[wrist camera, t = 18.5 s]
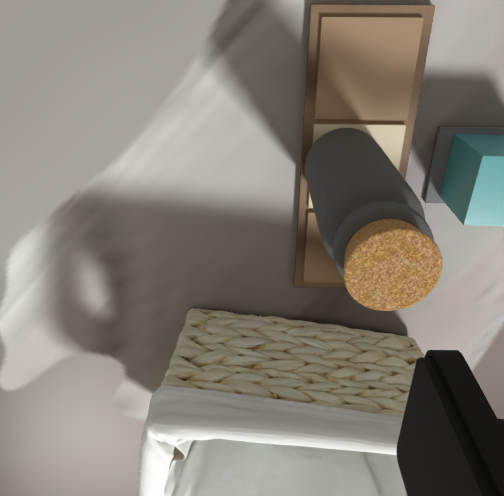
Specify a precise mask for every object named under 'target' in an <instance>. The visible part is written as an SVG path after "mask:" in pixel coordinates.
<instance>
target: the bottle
mask: <svg viewBox="0 0 504 496" xmlns="http://www.w3.org/2000/svg"><path fill="white" fill-rule="evenodd" d="M305 175H306V181H307V185H308V189H309V193H310V197H311V201H312V205H313V209H314V213H315V217H316V221H317V225H318V228H319V232H320V235H321V239H322V242H323V245H324V247H325V249H326V251H327V252H328V254H329V255H330V256H331V258H332V259H333V260H334V262H335V265H336V268H337V270H338V272H339V274H340V275H341V277H342V278H343V279H344V283H345V286H346V288H347V290H348V292H349V294H350V295H351V296H352V297H353V298H354V299H355V300H356V301H357V302H358V303H360V304H362V305H363V306H365V307H368V308H371V309H374V310H380V311H392V310H398V309H403V308H406V307H409V306H411V305H413V304H415V303H417V302H419V301H420V300H422V299H423V298H424V297H426V296H427V295H428V294H429V293H430V292H431V291H432V290H433V288H434V287H435V285H436V284H437V282H438V280H439V278H440V274H441V271H442V256H441V253H440V250H439V248H438V246H437V245H436V243H435V242H434V239H433V235H432V232H431V229H430V227H429V226H428V224H427V223H426V221H425V216H424V211H423V208H422V205H421V203H420V201H419V199H418V198H417V196H416V195H415V193H414V192H413V191H412V189H411V188H410V186H409V185H408V184H407V182H406V181H405V179H404V178H403V177H402V175H401V174H400V173H399V171H398V170H397V168H396V167H395V166H394V164H393V163H392V162H391V160H390V159H389V158H388V156H387V155H386V154H385V152H384V151H383V150H382V148H381V147H380V146H379V144H378V143H377V142H376V141H375V140H374V139H373V138H372V137H371V136H370V135H369V134H367V133H365V132H364V131H361V130H359V129H354V128H339V129H335V130H332V131H330V132H328V133H326V134H324V135H323V136H321V137H320V138H319V139H317V140H316V142H315V143H314V144H313V145H312V147H311V148H310V150H309V152H308V154H307V157H306V161H305Z"/></svg>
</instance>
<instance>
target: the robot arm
mask: <svg viewBox="0 0 504 496" xmlns="http://www.w3.org/2000/svg"><path fill="white" fill-rule="evenodd" d="M396 452H397V461H398V466H399V469H400V472H401V476H402V479H403V483H404V486H405V489H406V493H407V496H504V419H497V417H496V415H495V413H494V412H493V410H492V408H491V406H490V405H489V403H488V401H487V399H486V397H485V395H484V393H483V392H482V390H481V388H480V386H479V384H478V382H477V381H476V379H475V377H474V375H473V373H472V371H471V370H470V368H469V366H468V364H467V362H466V361H465V359H464V357H463V355H462V354H461V353H460V352H459V351H458V350H428V351H427V353H426V355H425V357H420V358H418V359H417V361H416V365H415V369H414V374H413V378H412V382H411V387H410V391H409V395H408V399H407V404H406V408H405V412H404V417H403V421H402V425H401V430H400V434H399V438H398V442H397V451H396Z"/></svg>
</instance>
